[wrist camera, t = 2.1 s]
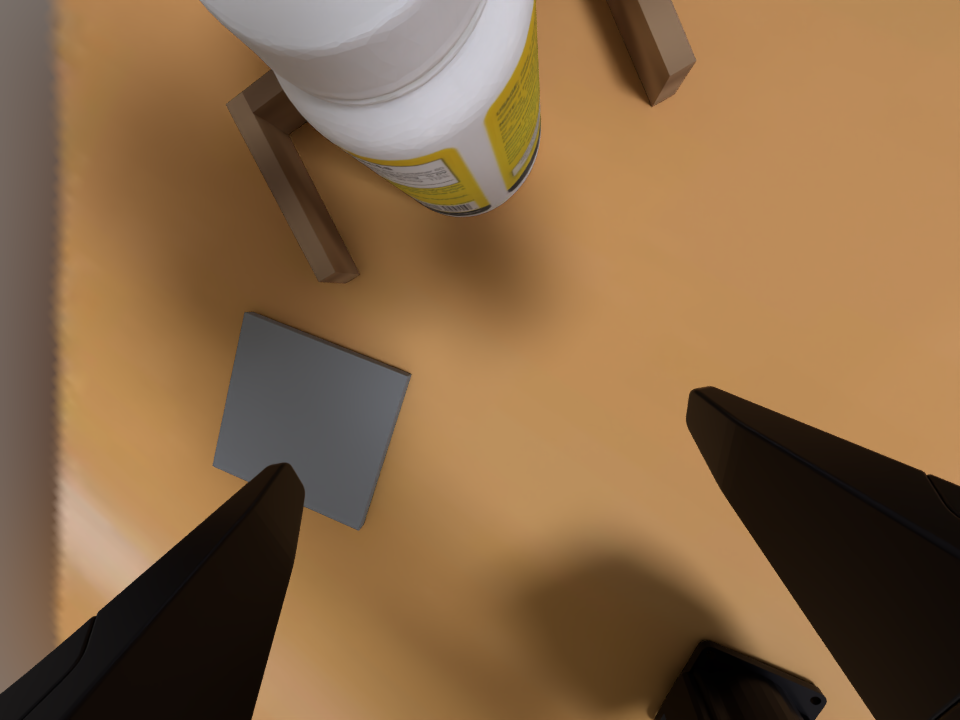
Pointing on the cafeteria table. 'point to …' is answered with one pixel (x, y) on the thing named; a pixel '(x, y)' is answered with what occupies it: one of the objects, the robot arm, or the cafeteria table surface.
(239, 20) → the supplement bottle
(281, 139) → the u-shaped wooden frame
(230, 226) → the cafeteria table surface
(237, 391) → the pad
